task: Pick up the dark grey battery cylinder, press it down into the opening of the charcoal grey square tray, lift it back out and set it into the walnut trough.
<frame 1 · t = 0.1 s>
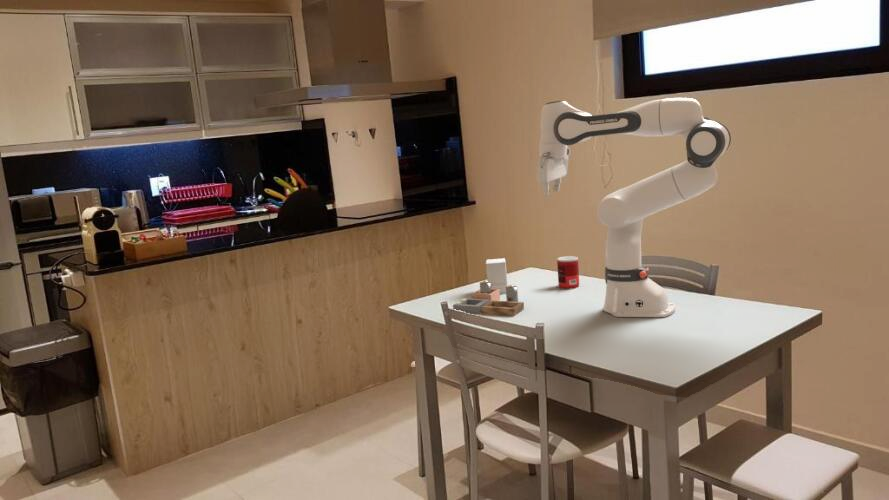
hand: (551, 192, 228), 39 cm above the table, tool pointing down, fingers open, 8 cm apart
cell a: (512, 306, 238), on the table
supplement box: (498, 293, 258), on the table
grey square tray: (472, 310, 238), on the table
cell b: (486, 301, 245), point 1 cm above the table, touching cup
trough: (503, 313, 231), on the table
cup: (486, 303, 245), on the table
canned food: (569, 287, 259), on the table
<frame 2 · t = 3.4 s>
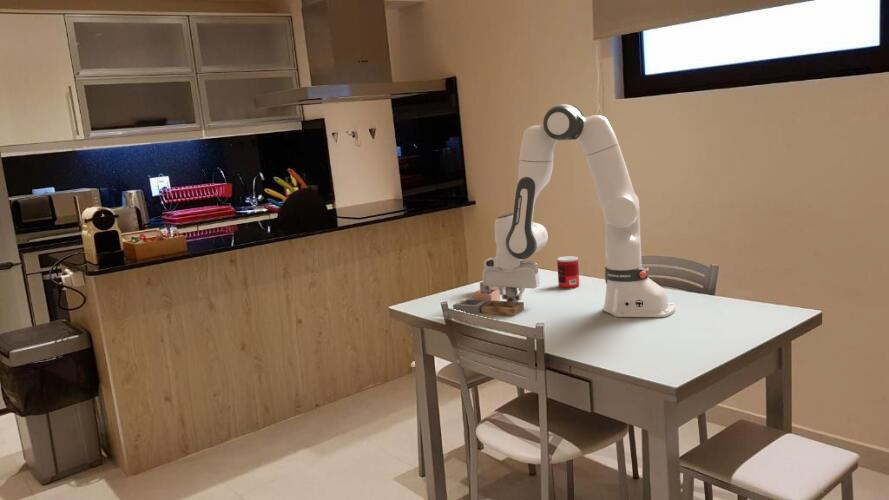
hand: (512, 299, 238), 3 cm above the table, tool pointing down, fingers closed on cell a, 4 cm apart
cell a: (512, 306, 238), on the table, touching gripper
everything else where it was.
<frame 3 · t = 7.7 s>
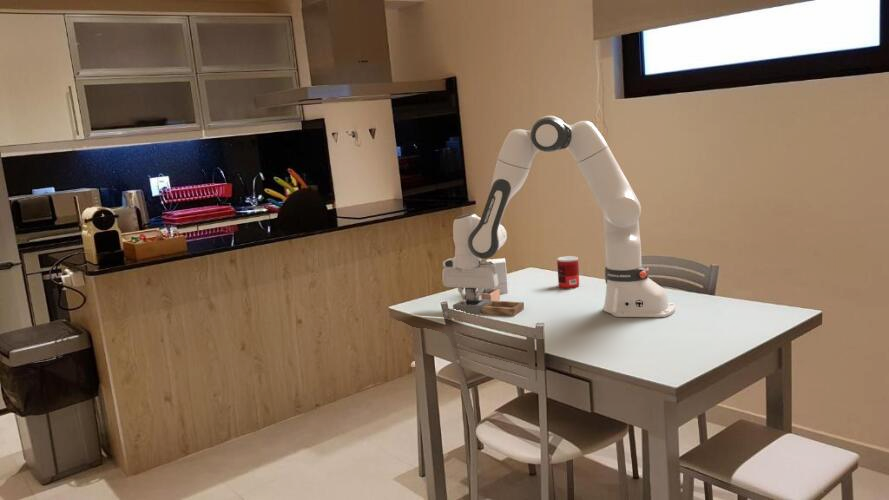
hand: (471, 299, 237), 4 cm above the table, tool pointing down, fingers closed on cell a, 4 cm apart
cell a: (472, 307, 238), point 1 cm above the table, touching gripper
everything else where it was.
when the fingers open (5 cm above the table, at t = 12.3 s): cell a drops 1 cm, resting on trough.
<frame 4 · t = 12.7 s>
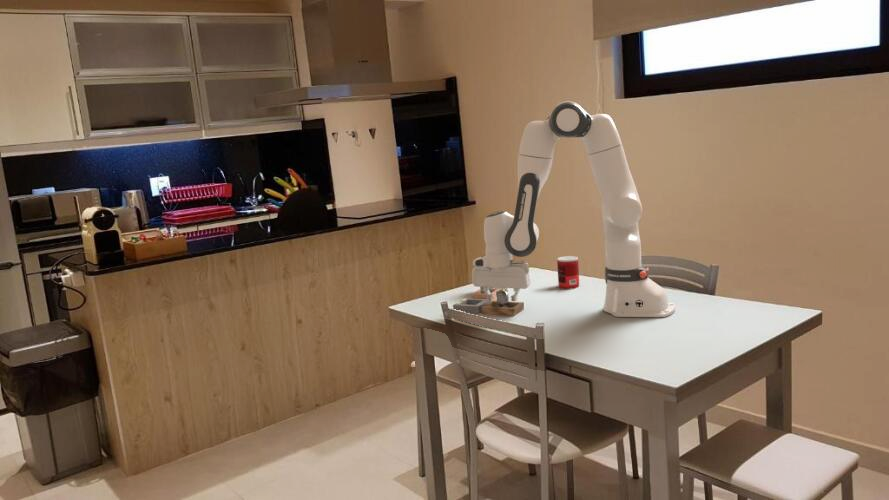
hand: (502, 300, 231), 5 cm above the table, tool pointing down, fingers open, 8 cm apart
cell a: (503, 311, 231), point 1 cm above the table, touching trough
everything else where it was.
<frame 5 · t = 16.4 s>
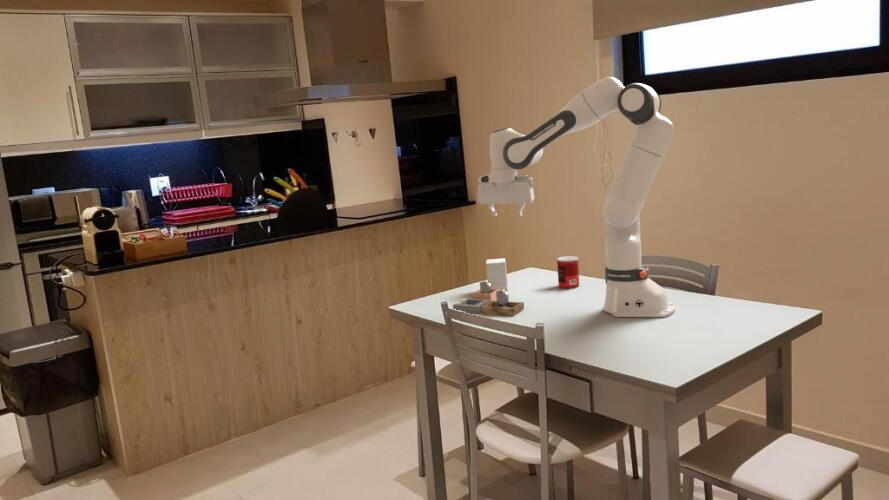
hand: (507, 216, 238), 31 cm above the table, tool pointing down, fingers open, 8 cm apart
nothing on the table moved.
at the end: cell a inside the target area on the trough (0.1 cm from its centre), point 0.5 cm above the trough's base; the gripper is holding nothing; cell a moved 8.0 cm from its start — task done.
